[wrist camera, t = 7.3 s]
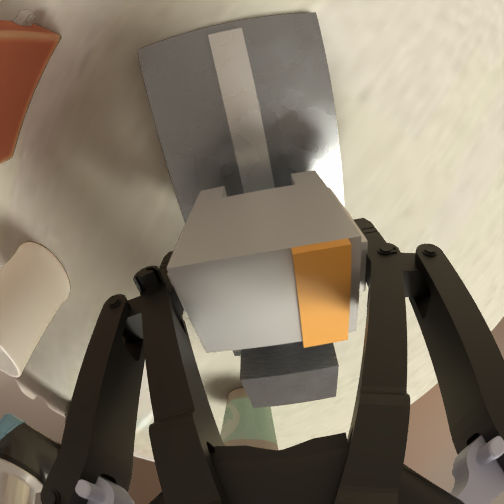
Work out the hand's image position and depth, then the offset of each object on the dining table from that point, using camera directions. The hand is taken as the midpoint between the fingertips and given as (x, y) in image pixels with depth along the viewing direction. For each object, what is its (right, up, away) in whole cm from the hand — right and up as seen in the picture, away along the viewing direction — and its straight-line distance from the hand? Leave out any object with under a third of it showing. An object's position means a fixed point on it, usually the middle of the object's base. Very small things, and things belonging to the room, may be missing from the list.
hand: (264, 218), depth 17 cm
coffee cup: (-1, -23, +20) cm, 30 cm away
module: (0, 0, 0) cm, 0 cm away
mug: (-26, -4, +8) cm, 28 cm away
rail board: (0, +1, +5) cm, 5 cm away
